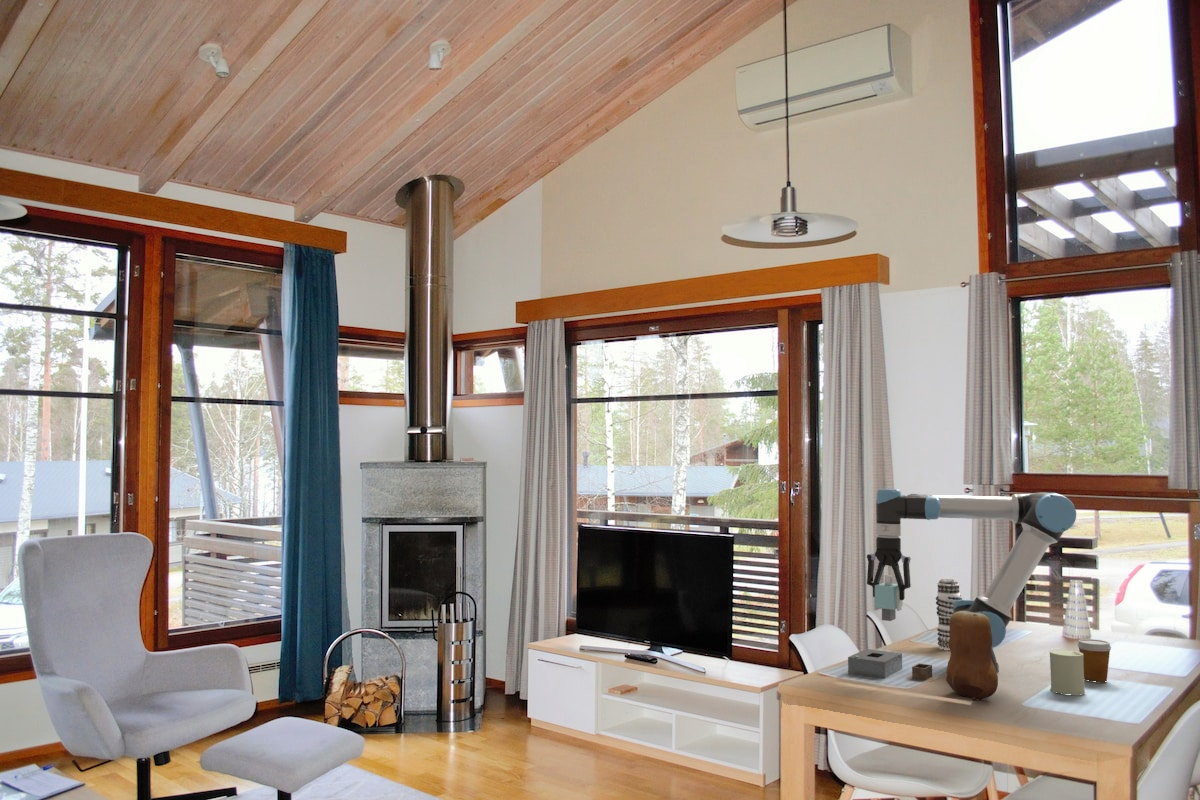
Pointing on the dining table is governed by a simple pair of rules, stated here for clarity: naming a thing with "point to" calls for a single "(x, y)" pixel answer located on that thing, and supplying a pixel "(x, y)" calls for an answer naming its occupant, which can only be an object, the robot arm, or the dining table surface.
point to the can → (1067, 672)
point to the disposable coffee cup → (1095, 659)
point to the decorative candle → (946, 609)
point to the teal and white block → (887, 598)
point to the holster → (922, 673)
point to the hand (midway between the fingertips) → (888, 608)
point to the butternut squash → (971, 656)
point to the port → (875, 663)
